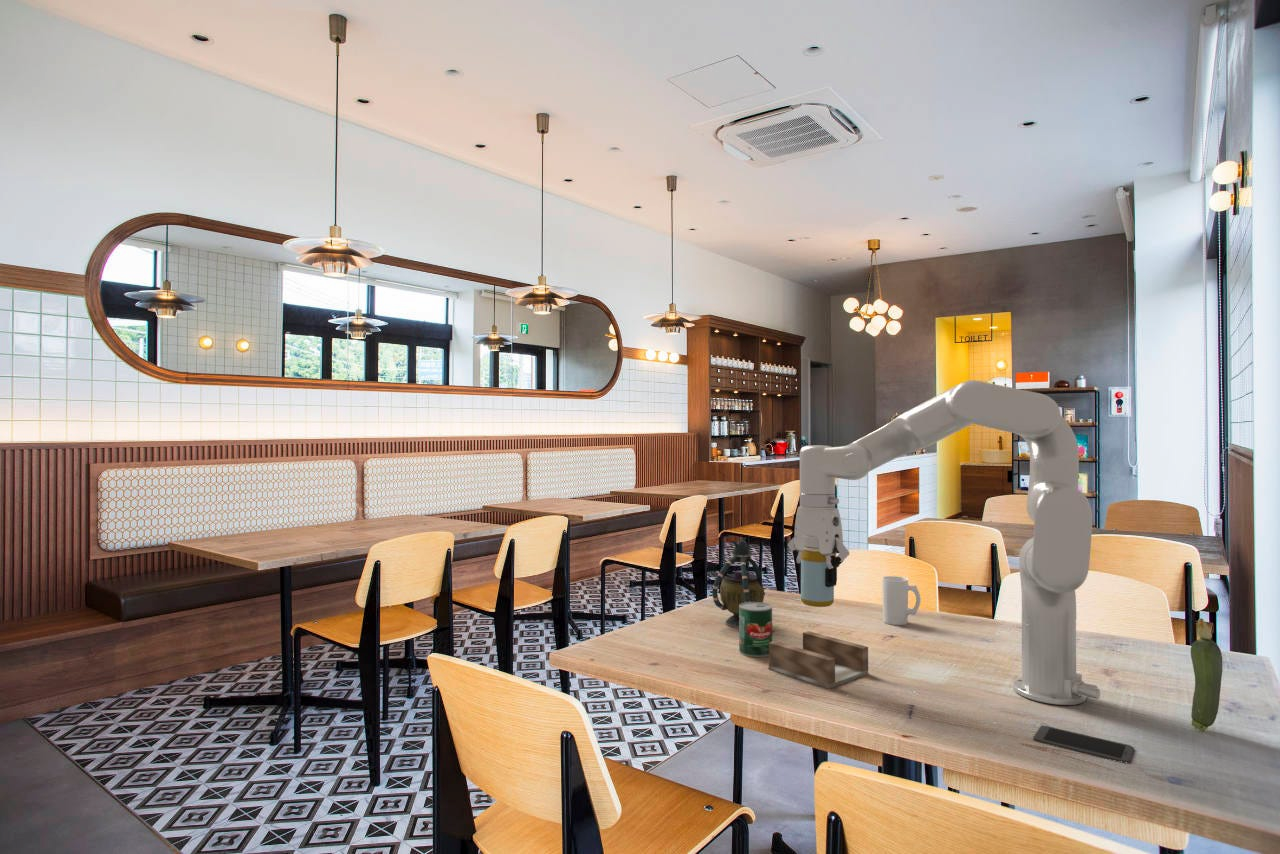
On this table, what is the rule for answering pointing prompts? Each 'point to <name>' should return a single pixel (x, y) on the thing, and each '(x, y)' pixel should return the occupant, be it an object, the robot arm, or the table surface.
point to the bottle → (814, 575)
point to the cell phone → (1084, 744)
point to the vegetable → (1205, 678)
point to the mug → (897, 600)
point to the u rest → (820, 660)
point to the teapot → (738, 584)
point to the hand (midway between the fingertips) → (817, 582)
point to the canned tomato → (755, 628)
